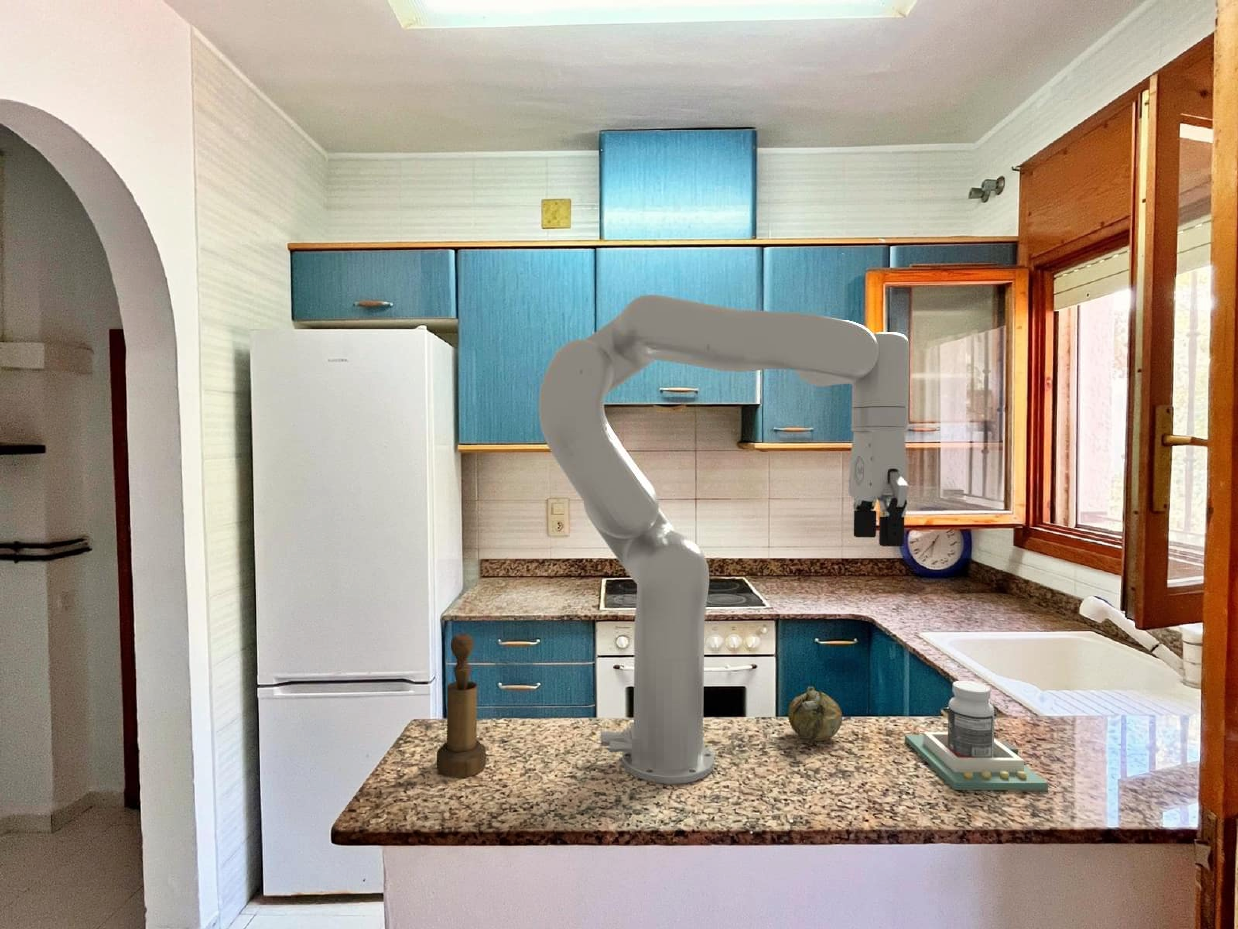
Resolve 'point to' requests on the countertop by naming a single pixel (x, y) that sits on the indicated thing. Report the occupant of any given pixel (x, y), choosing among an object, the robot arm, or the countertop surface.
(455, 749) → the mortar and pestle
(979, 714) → the pill bottle
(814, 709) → the onion
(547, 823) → the countertop surface
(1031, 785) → the board
